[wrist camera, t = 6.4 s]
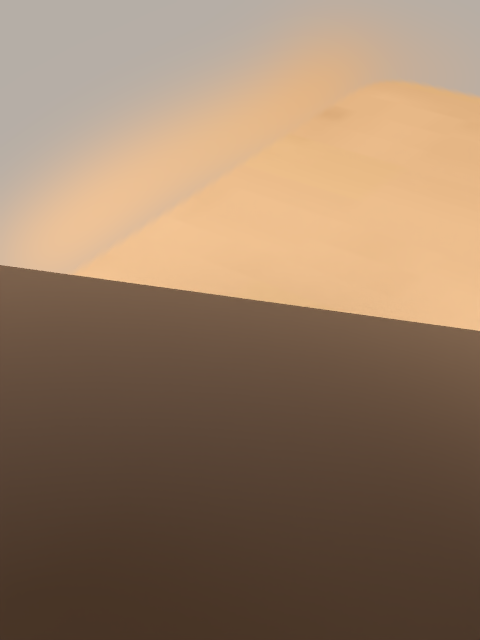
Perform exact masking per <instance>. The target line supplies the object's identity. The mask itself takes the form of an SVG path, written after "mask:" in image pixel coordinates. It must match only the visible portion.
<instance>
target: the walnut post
mask: <svg viewBox="0 0 480 640" xmlns="http://www.w3.org/2000/svg"><path fill="white" fill-rule="evenodd" d="M0 640H480V331H475V330H468V329H461V328H453V327H446V326H439V325H431V324H424V323H417V322H410V321H402V320H395V319H388V318H381V317H373V316H366V315H359V314H351V313H344V312H337V311H330V310H322V309H315V308H308V307H301V306H293V305H286V304H279V303H271V302H264V301H257V300H250V299H242V298H235V297H228V296H220V295H213V294H206V293H199V292H191V291H184V290H177V289H170V288H162V287H155V286H148V285H140V284H133V283H126V282H119V281H111V280H104V279H97V278H90V277H82V276H75V275H68V274H60V273H53V272H46V271H38V270H31V269H24V268H17V267H10V266H2V265H0Z"/></svg>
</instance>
